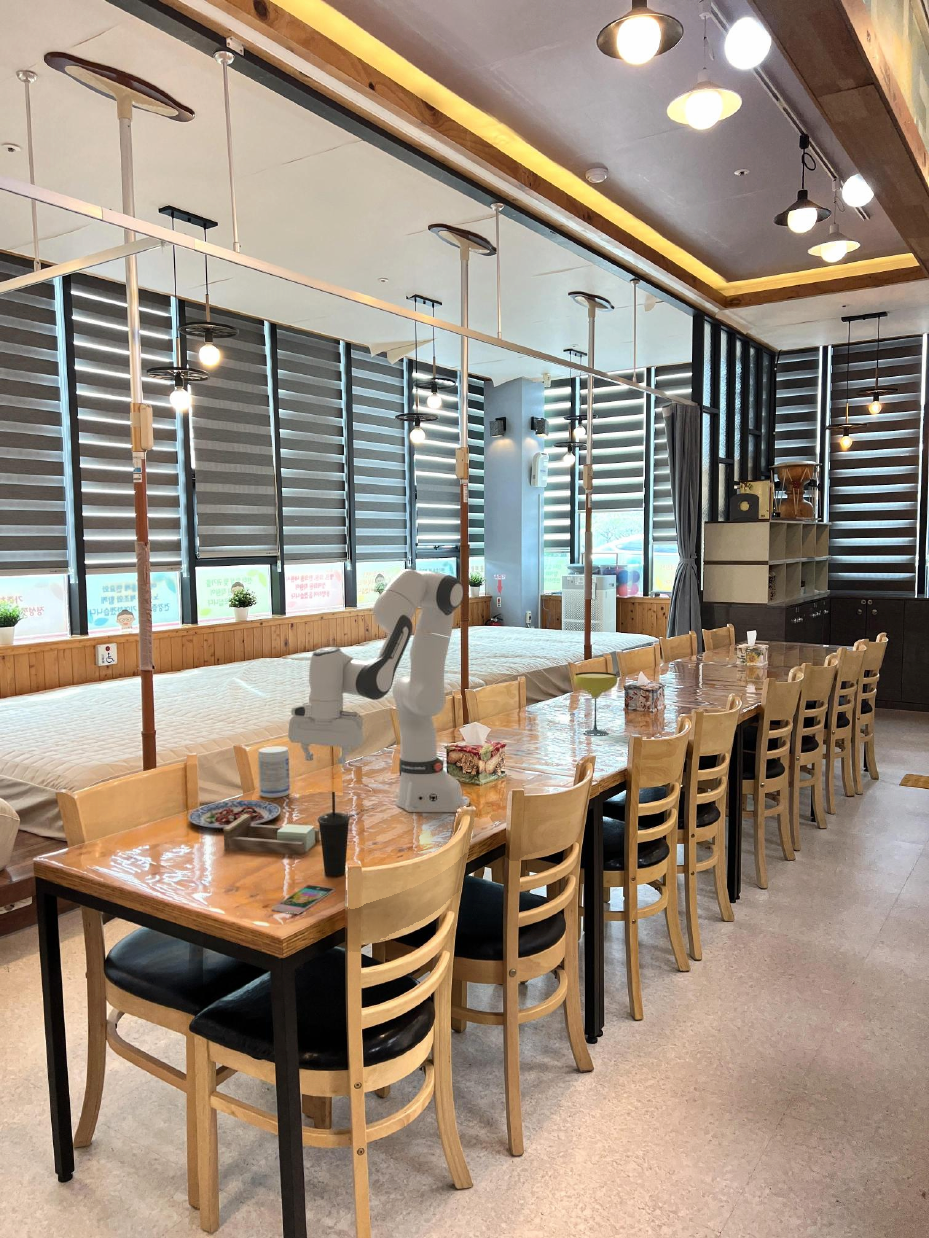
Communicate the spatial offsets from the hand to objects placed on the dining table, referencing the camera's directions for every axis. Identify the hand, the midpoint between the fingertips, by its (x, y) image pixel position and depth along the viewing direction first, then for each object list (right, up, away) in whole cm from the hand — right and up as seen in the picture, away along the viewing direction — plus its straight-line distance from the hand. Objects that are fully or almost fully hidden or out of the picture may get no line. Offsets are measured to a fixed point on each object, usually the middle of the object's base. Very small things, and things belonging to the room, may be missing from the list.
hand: (325, 761), depth 226 cm
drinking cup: (+5, -24, -19) cm, 31 cm away
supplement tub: (-24, -19, +49) cm, 58 cm away
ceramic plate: (-30, -21, +24) cm, 44 cm away
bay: (-14, -22, +2) cm, 26 cm away
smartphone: (+1, -26, -34) cm, 43 cm away
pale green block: (-8, -23, +1) cm, 24 cm away
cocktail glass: (+92, -11, +139) cm, 167 cm away
